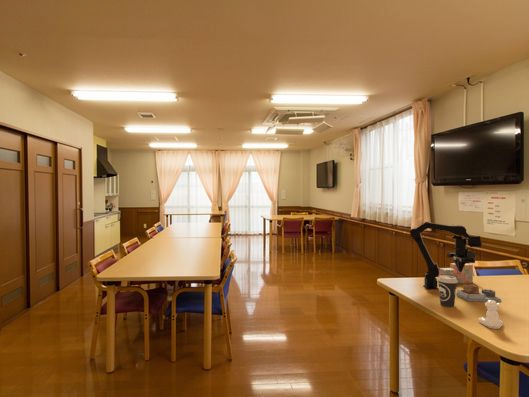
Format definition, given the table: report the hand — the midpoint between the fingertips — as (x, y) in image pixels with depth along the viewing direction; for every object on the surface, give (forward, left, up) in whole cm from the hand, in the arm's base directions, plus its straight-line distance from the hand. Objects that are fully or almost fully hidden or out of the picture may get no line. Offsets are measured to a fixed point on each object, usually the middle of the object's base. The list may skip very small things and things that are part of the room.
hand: (460, 271), depth 195 cm
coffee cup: (-22, -24, -12) cm, 35 cm away
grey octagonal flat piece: (+8, -13, -10) cm, 18 cm away
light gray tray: (+2, -13, -12) cm, 18 cm away
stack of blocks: (+10, +21, -12) cm, 27 cm away
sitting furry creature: (-18, -52, -12) cm, 56 cm away
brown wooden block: (-2, -13, -10) cm, 17 cm away
